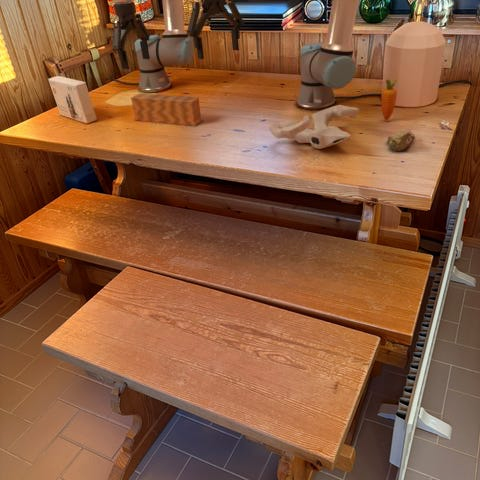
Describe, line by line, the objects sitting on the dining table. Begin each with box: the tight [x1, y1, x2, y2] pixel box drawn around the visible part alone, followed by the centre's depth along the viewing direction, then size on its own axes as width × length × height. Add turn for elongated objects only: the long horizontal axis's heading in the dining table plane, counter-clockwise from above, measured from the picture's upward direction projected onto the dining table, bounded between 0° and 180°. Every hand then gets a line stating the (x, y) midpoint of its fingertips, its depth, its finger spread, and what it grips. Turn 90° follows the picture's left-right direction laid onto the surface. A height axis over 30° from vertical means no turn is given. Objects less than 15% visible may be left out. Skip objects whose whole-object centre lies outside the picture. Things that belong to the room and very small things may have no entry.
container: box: [380, 20, 447, 108], centre depth 175 cm, size 21×21×28 cm
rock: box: [387, 129, 416, 152], centre depth 146 cm, size 11×6×10 cm
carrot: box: [380, 79, 397, 122], centre depth 161 cm, size 5×5×15 cm
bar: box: [130, 93, 203, 127], centre depth 183 cm, size 28×6×9 cm, turn 65°
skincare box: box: [47, 75, 98, 124], centre depth 192 cm, size 21×6×16 cm, turn 49°
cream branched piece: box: [268, 104, 360, 150], centre depth 153 cm, size 28×26×12 cm
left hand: (136, 63), depth 177 cm, fingers open, 13 cm apart
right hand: (218, 54), depth 152 cm, fingers open, 13 cm apart
